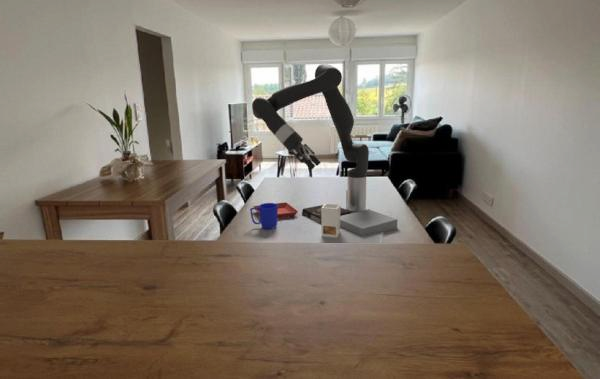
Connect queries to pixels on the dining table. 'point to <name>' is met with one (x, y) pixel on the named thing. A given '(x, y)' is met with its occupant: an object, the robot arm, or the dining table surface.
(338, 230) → the white hollow square box
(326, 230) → the block
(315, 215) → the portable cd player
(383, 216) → the dock
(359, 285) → the dining table surface
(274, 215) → the mug
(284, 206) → the plant saucer
